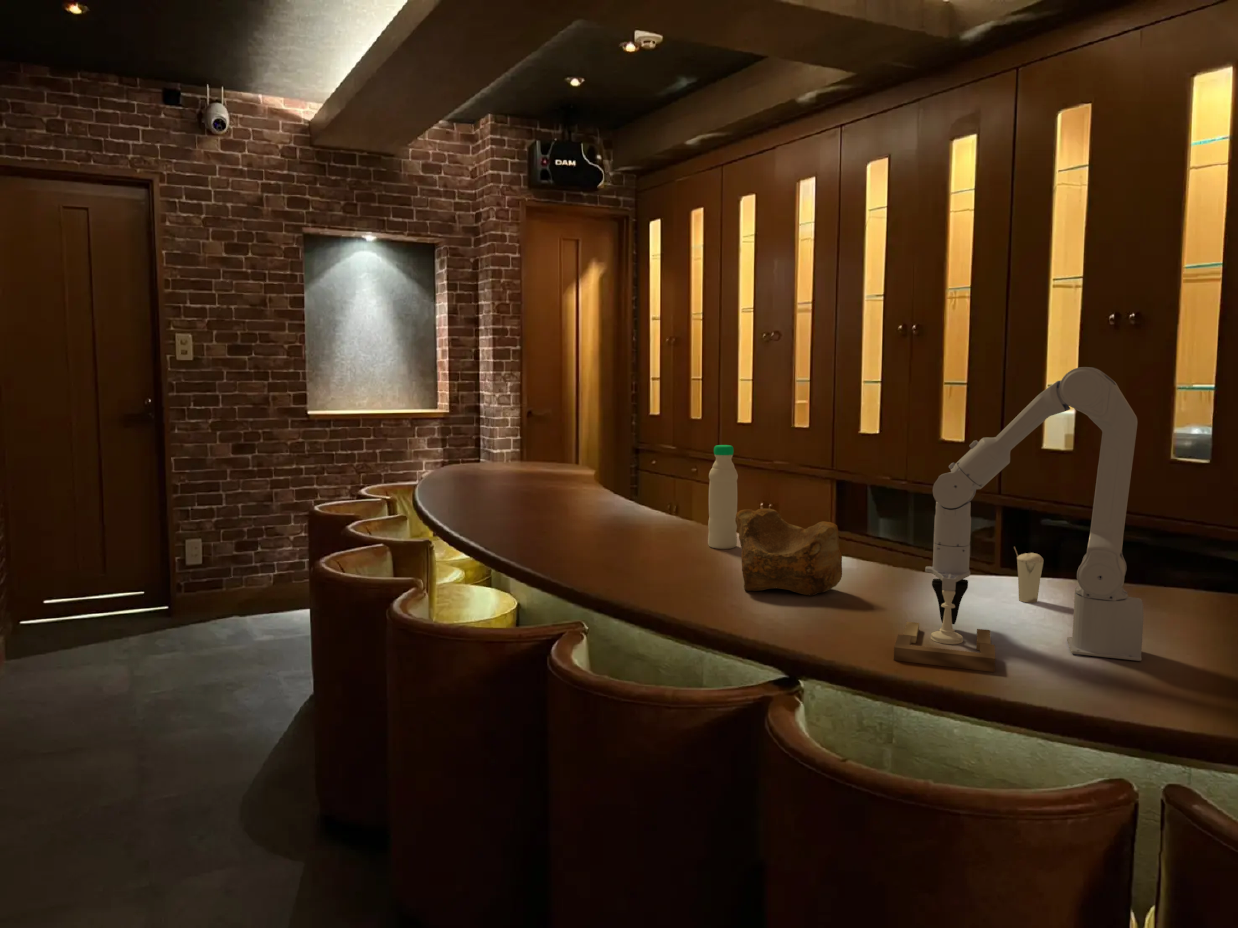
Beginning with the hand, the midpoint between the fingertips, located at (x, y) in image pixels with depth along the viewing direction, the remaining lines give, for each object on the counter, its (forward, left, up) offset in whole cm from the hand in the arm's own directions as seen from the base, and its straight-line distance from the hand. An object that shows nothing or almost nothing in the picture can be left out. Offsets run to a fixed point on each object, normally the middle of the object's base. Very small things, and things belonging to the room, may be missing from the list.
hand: (948, 622), depth 151 cm
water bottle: (+54, -53, -1) cm, 76 cm away
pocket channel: (0, +7, -1) cm, 7 cm away
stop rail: (0, +17, -1) cm, 17 cm away
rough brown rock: (+33, -16, -1) cm, 37 cm away
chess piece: (0, +7, -1) cm, 7 cm away
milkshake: (-13, -25, -1) cm, 29 cm away
